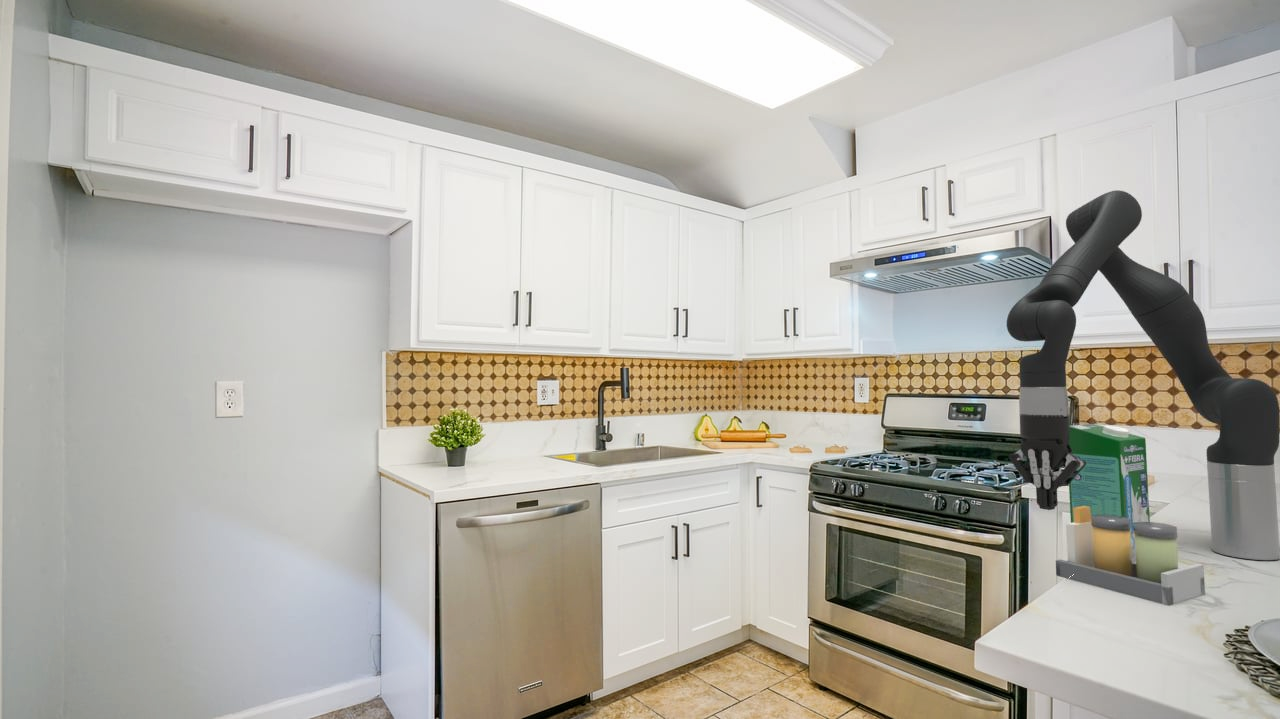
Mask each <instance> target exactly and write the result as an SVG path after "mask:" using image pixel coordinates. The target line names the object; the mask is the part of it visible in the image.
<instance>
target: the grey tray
mask: <svg viewBox="0 0 1280 719" xmlns="http://www.w3.org/2000/svg"><path fill="white" fill-rule="evenodd" d="M1204 567H1205V566H1204V564H1201V563H1194V564H1190V565H1186V566H1182V567H1178V569H1175V570H1171V571H1167V572H1164V573H1161V584H1160V583H1156V582H1152V581H1147V580H1143V579H1139V578H1137V569H1136V562H1132V572H1133V577H1131V576H1127V575H1123V574H1118V573H1114V572H1110V571H1106V570H1102V569H1098V568H1094V567H1089V566H1085V565H1081V564H1077V563H1073V562H1069V561H1068V560H1064V559H1056V560H1055V575H1056V577H1060V578H1064V579H1067V580H1072V581H1076V582H1079V583H1082V584H1086V585H1089V586H1093V587H1098V588H1102V589H1106V590H1107V591H1108V590H1109V591H1113V592H1115V593H1116V592H1117V593H1121V594H1124V595H1128V596H1132V597H1135V598H1138V599H1143V600H1147V601H1151V602H1153V603H1158V604H1160V605H1161V604H1162V605H1165V606H1173V605H1175V604H1178V603H1179V604H1180V603H1181V602H1185V601H1189V600H1192V599H1195V598H1198V597H1201V596H1204V595H1206V586H1205V584H1206V583H1205V568H1204ZM1073 574H1074V575H1073ZM1072 575H1073V576H1072ZM1070 576H1071V577H1070ZM1069 577H1070V578H1069ZM1068 578H1069V579H1068Z"/></svg>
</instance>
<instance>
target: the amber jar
mask: <svg viewBox="0 0 1280 719" xmlns="http://www.w3.org/2000/svg"><path fill="white" fill-rule="evenodd" d="M1091 525H1092V533H1093V553H1094V568H1098V569H1102V570H1106V571H1110V572H1114V573H1118V574H1123V575H1127V576H1131V577H1133V572H1132V552H1131V533H1130V529H1131V519H1129V518H1127V517H1123V516H1117V515H1108V514H1095V515H1091Z"/></svg>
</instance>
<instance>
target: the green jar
mask: <svg viewBox="0 0 1280 719" xmlns="http://www.w3.org/2000/svg"><path fill="white" fill-rule="evenodd" d="M1133 528H1134V533H1135V550H1136V569H1137V578H1139V579H1143V580H1147V581H1152V582H1156V583H1160V584H1161V573H1164V572H1167V571H1171V570H1175V569H1179V561H1178V560H1179V559H1178V542H1177V538H1178V529H1177V526H1174V525H1173V524H1168V523H1162V522H1153V521H1150V522H1135V523H1133Z"/></svg>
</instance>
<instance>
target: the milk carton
mask: <svg viewBox="0 0 1280 719" xmlns="http://www.w3.org/2000/svg"><path fill="white" fill-rule="evenodd" d="M1069 445H1070V447H1071V449H1072V454H1073V455H1074V456H1076V457H1077V458H1078V459H1079V460H1085V462H1086V465H1085V467H1084V468H1083V469H1082V470H1081V471H1080V472H1079V473H1078V475H1077V476H1076V477H1075V478H1074V479H1073V480H1072V481H1071V483H1070V484H1069V485H1068V488H1069V489H1068V492H1069V509H1070V511H1069V512H1070V523H1073V522H1074V513H1073V508H1075V507H1081V506H1088V507H1090V513H1091V515H1095V514H1108V515H1117V516H1123V517H1127V518H1129V519H1131V529H1130V533H1131V552H1132V562H1136V550H1135V533H1134V528H1133V523H1135V522H1151V521H1150V520H1151V518H1150V516H1151V515H1150V500H1149V498H1150V497H1149V483H1148V461H1147V446H1146V445H1147V443H1146V437H1144V436H1139V435H1136V434H1133V433H1130V430H1129V429H1127V428H1124V427H1120V426H1117V425H1110V424H1108V425H1107V424H1106V425H1105V424H1104V425H1103V426H1102V425H1099V424H1095V423H1085V424H1075V425H1070V438H1069Z"/></svg>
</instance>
